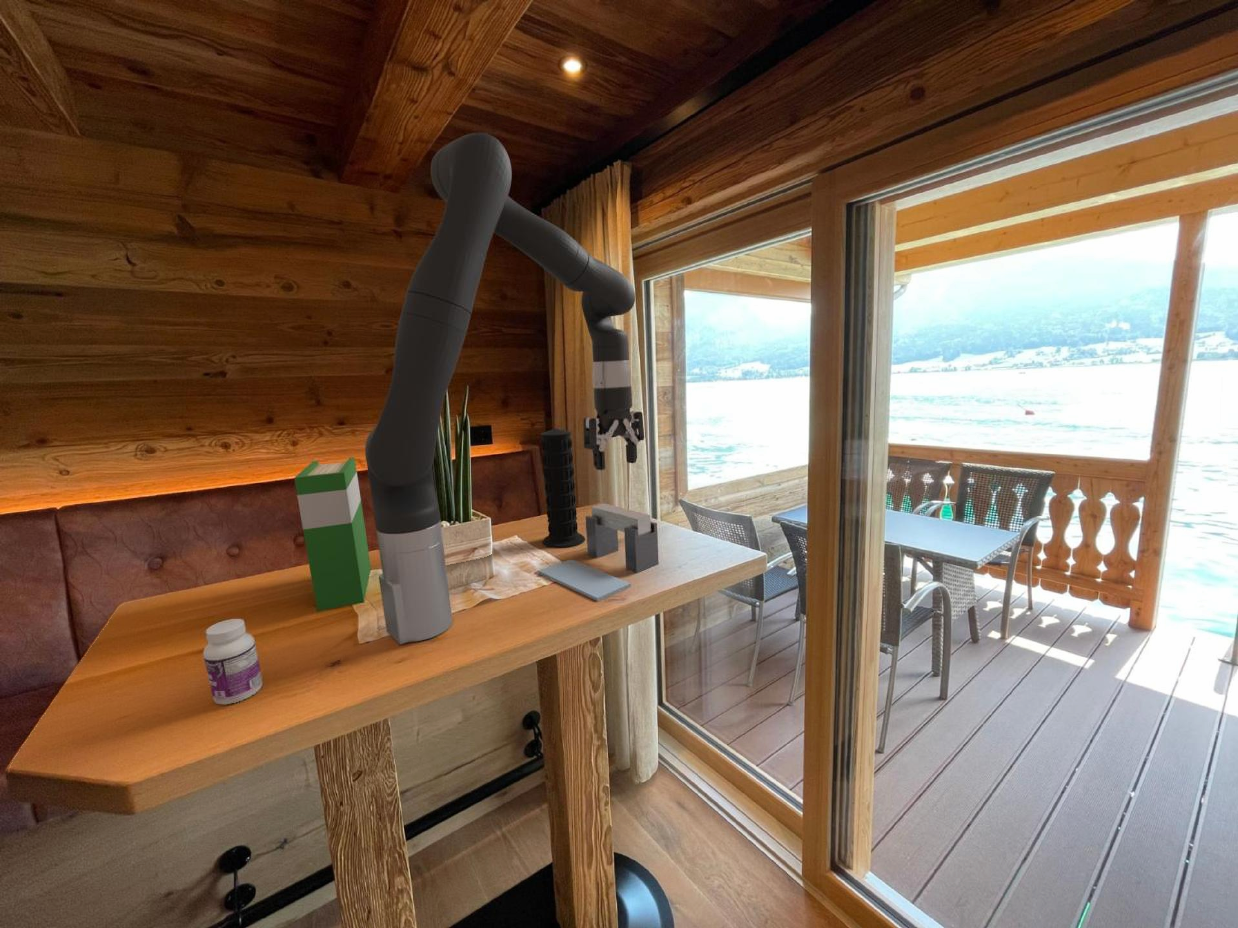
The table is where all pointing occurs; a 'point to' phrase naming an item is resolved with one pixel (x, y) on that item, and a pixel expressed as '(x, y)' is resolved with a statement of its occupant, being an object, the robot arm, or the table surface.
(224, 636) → the pill bottle
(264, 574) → the table surface
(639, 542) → the post right
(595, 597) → the mat
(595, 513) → the rail
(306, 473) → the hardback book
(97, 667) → the table surface
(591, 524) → the post left
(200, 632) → the table surface
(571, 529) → the handle grip
